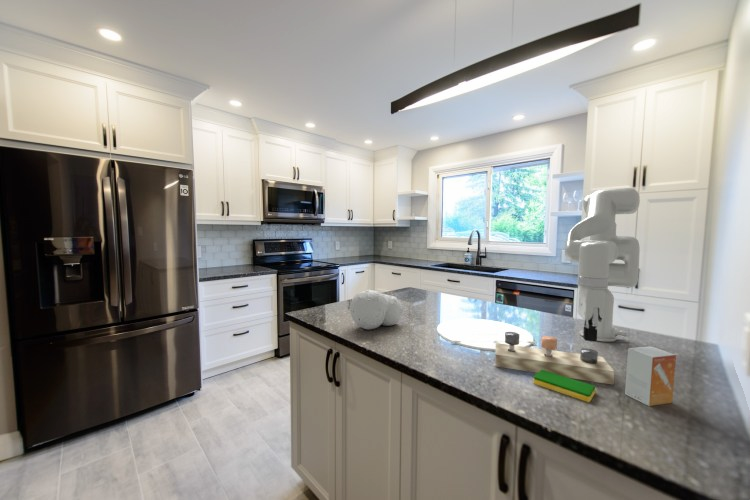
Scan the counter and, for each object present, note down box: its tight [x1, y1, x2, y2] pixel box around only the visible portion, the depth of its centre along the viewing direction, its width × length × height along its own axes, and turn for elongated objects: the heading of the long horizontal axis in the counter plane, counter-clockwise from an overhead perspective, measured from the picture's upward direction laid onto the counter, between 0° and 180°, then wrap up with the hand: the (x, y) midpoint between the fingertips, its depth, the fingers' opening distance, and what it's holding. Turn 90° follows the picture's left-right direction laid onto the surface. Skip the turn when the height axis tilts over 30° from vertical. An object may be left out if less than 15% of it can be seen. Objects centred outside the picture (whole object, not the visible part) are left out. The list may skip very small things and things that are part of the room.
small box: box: [624, 345, 677, 407], centre depth 81 cm, size 8×6×13 cm
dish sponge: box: [532, 370, 596, 403], centre depth 87 cm, size 7×14×2 cm, turn 44°
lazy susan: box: [436, 318, 537, 352], centre depth 133 cm, size 40×39×3 cm
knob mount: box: [494, 343, 615, 385], centre depth 100 cm, size 32×11×4 cm, turn 68°
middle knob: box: [540, 335, 558, 357], centre depth 100 cm, size 4×4×7 cm
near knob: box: [579, 347, 599, 363], centre depth 96 cm, size 4×4×7 cm
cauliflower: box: [349, 289, 404, 330], centre depth 143 cm, size 20×25×22 cm
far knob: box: [505, 332, 519, 352], centre depth 104 cm, size 4×4×7 cm
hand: (589, 339), depth 96 cm, fingers closed
